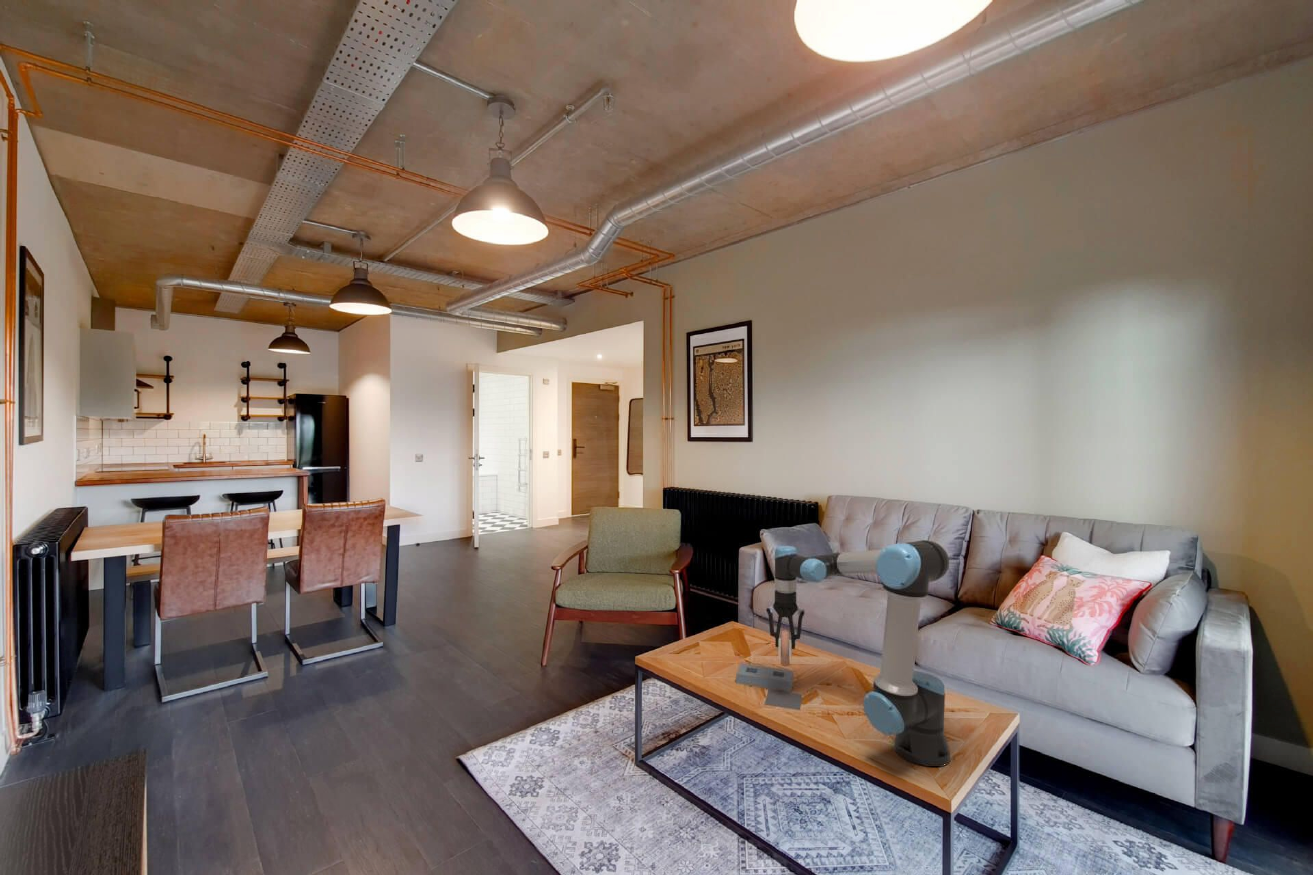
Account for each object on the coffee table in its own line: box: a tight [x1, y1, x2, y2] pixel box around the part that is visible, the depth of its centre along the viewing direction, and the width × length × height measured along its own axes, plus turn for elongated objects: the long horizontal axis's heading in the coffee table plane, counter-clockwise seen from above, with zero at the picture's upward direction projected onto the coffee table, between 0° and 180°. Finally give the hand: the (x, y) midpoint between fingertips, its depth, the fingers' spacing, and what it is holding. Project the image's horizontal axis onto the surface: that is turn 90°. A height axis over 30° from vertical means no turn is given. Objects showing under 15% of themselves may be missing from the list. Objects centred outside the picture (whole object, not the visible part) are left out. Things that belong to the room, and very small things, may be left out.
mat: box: [764, 688, 803, 711], centre depth 199 cm, size 12×12×1 cm
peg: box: [780, 628, 791, 667], centre depth 198 cm, size 3×3×12 cm
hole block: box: [735, 662, 794, 693], centre depth 213 cm, size 10×20×4 cm, turn 72°
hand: (785, 656), depth 198 cm, fingers closed on peg, 3 cm apart
